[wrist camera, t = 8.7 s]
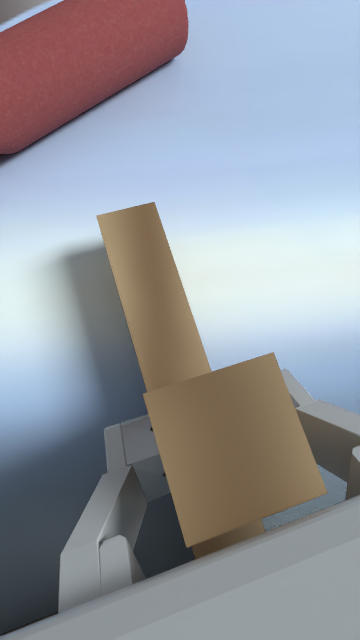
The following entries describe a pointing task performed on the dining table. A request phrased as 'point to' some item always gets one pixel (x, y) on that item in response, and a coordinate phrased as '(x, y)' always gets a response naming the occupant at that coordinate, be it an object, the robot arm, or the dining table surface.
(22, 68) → the artery
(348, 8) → the dining table surface
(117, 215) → the oak bar
